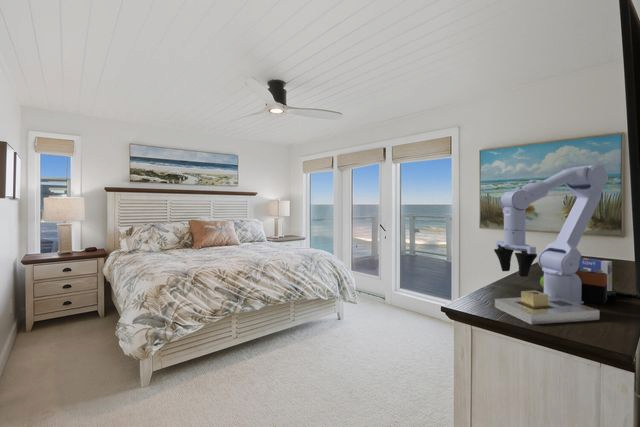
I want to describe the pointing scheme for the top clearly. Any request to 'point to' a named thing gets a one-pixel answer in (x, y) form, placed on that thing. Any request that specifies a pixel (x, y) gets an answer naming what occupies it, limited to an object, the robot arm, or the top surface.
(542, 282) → the snail figurine
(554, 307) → the rail plate
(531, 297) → the tan rectangular block
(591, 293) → the battery
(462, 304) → the top surface
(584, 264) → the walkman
